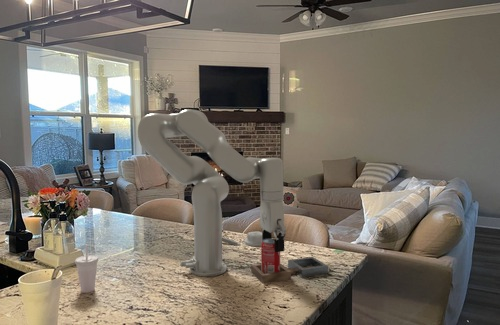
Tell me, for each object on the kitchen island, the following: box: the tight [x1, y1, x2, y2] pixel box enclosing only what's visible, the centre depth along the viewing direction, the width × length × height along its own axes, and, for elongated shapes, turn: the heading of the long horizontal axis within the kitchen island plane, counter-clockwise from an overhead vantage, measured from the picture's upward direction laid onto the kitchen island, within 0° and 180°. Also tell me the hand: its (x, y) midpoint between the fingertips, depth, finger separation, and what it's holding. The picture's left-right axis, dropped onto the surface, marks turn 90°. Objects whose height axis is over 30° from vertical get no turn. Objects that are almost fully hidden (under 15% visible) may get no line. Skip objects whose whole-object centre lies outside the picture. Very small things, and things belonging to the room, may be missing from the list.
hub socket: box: [286, 256, 329, 278], centre depth 128 cm, size 14×10×2 cm
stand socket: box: [250, 263, 292, 284], centre depth 124 cm, size 10×10×2 cm
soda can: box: [260, 237, 281, 274], centre depth 123 cm, size 6×6×12 cm
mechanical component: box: [243, 230, 262, 247], centre depth 160 cm, size 10×4×10 cm
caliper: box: [222, 236, 241, 247], centre depth 160 cm, size 20×1×6 cm, turn 67°
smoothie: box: [74, 244, 99, 294], centre depth 111 cm, size 6×6×14 cm
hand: (273, 247), depth 123 cm, fingers open, 9 cm apart
